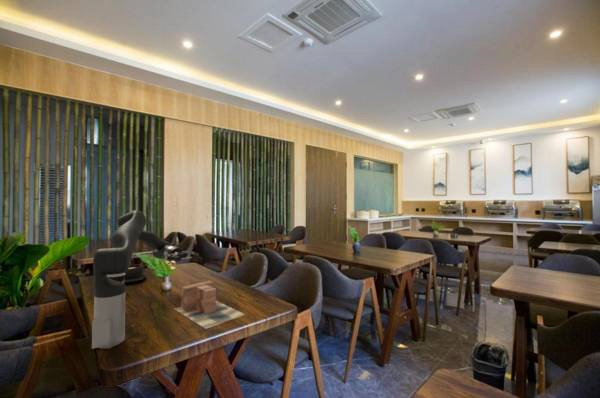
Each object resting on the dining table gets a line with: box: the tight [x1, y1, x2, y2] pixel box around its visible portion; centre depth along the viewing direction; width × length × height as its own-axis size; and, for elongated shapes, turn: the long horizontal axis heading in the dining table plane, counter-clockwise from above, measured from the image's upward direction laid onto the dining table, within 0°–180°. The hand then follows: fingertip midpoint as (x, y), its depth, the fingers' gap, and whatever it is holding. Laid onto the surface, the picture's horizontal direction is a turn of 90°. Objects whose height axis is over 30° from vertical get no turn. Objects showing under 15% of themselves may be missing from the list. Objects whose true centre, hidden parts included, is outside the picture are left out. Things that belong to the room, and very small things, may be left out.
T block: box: [180, 280, 217, 314], centre depth 130 cm, size 14×14×10 cm
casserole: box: [124, 263, 147, 283], centre depth 178 cm, size 25×19×8 cm
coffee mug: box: [107, 273, 125, 284], centre depth 153 cm, size 12×9×10 cm
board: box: [174, 300, 246, 330], centre depth 126 cm, size 29×19×1 cm, turn 47°
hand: (187, 258), depth 141 cm, fingers open, 8 cm apart
